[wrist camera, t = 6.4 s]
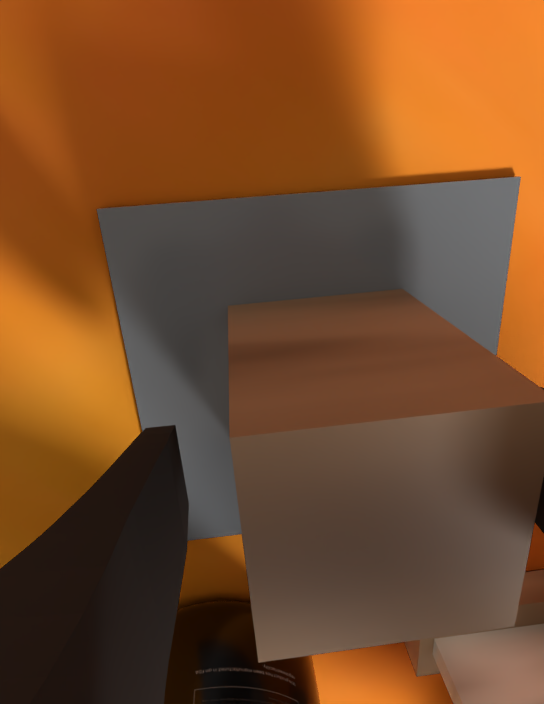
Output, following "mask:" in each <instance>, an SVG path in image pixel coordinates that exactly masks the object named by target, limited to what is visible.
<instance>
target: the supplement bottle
mask: <svg viewBox="0 0 544 704" xmlns="http://www.w3.org/2000/svg"><path fill="white" fill-rule="evenodd" d="M164 704H320V700H319V694H318V688H317V683H316V677H315V672H314V667H313V661H312V657H311V655H309V656H302V657H295V658H288V659H281V660H274V661H267V662H260V663H258V655H257V647H256V640H255V632H254V624H253V616H252V609H251V603H246V602H240V601H211V602H204V603H199V604H194V605H190V606H187V607H184V608H181V609H178V610H177V614H176V620H175V626H174V633H173V639H172V645H171V651H170V657H169V663H168V671H167V679H166V687H165V697H164Z"/></svg>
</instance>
